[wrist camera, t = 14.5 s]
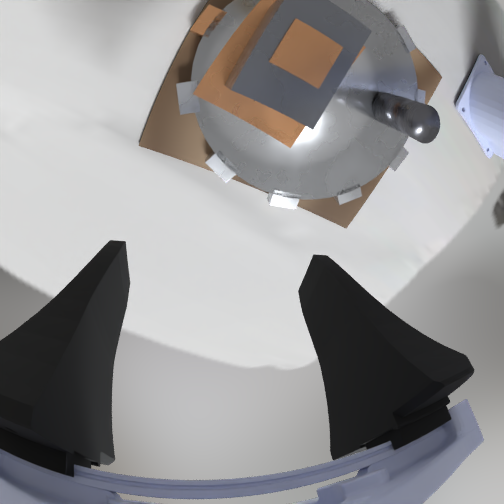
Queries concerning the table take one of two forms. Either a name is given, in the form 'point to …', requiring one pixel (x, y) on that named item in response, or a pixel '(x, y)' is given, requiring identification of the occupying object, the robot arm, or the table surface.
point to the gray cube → (298, 57)
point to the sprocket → (296, 134)
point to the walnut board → (197, 148)
